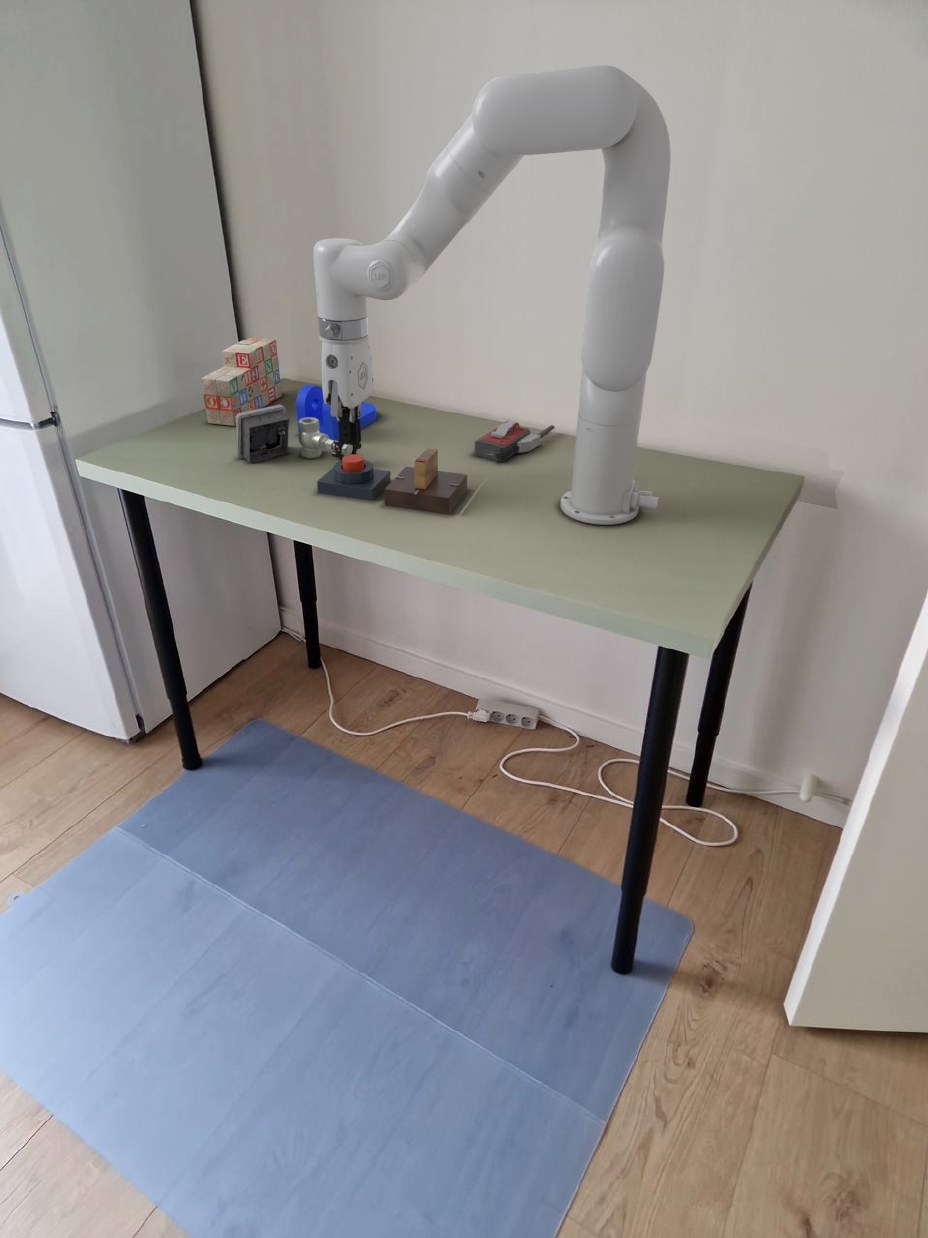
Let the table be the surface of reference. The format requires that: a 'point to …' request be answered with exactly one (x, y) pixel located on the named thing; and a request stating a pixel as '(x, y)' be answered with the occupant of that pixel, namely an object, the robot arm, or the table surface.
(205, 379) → the stack of blocks
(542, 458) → the table surface
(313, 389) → the bracket
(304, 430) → the valve
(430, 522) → the table surface
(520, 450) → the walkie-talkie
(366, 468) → the button box
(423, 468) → the oak handle
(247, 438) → the electrical switch
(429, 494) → the handle panel
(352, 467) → the red button
